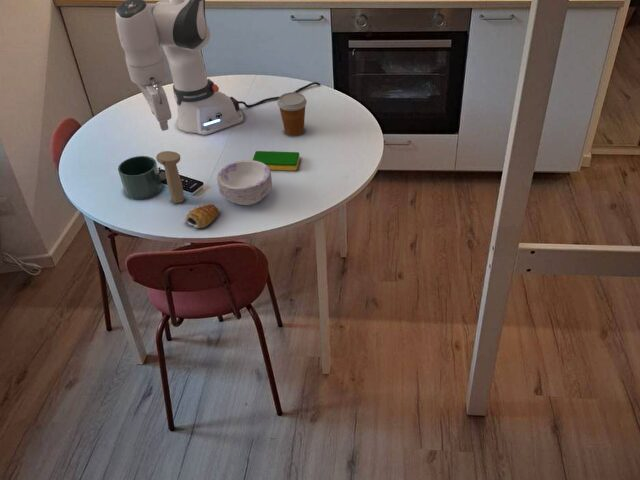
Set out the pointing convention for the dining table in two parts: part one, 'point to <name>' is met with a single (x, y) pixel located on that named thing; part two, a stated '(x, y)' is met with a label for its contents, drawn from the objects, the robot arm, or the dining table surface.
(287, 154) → the dish sponge
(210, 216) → the pastry
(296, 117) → the disposable coffee cup
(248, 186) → the white bowl
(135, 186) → the crock
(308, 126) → the dining table surface
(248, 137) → the dining table surface
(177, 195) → the handle
